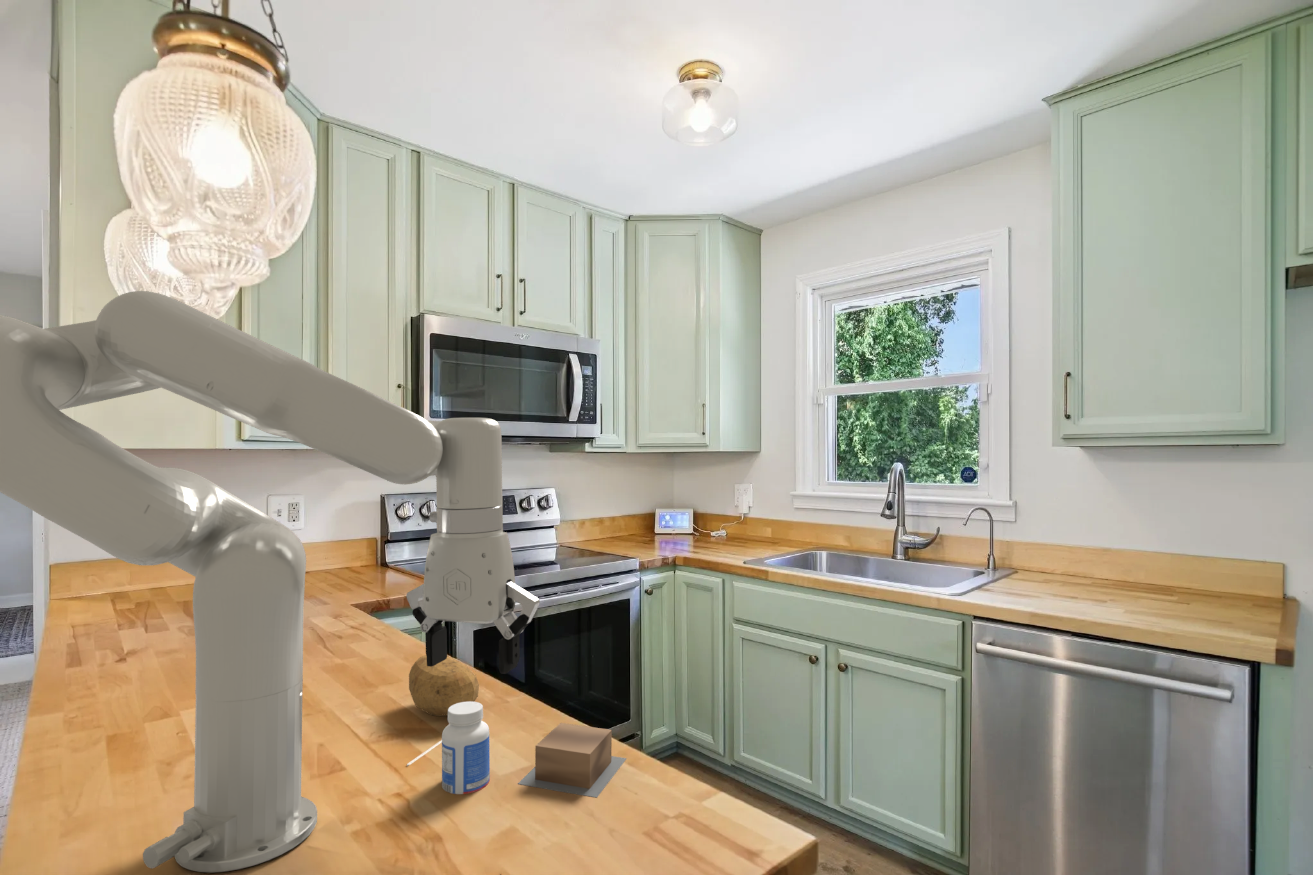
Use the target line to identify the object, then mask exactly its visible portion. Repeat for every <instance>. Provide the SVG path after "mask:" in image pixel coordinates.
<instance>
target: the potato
mask: <svg viewBox="0 0 1313 875" xmlns="http://www.w3.org/2000/svg"><path fill="white" fill-rule="evenodd" d="M476 675H477V674H475V673H474V671H472V669H471V668H470V667H469V666H468V665H467V664H465V663H463V662H461V661H459V660H457V659H455V658H452V656H451V657H450V656H448V655H447V658H446V659H445V660H444V661H442V662H440V663H438V664H436V665H434V666H432V667H430V666H427V656H426V654H424V655H422V656H420V657H419V658H418V659H417V660H416V661H415V662H414V663H413V664H412V666H411V668H410V671H409V674H408V690H409V692H410V696H411V698H412V700H413V703H414V705H415V706H416V707H417V708H418V709H420V710H421V711H423V712H425V713H426V714H429V715H431V716H434V717H439V716H440V717H441V716H448V708H449V707H450V706H452V705H454V704H457V703H461V702H469V701H471V702H476V700H477V698H478V697H479V687H480V684H479V681H478V678H477V676H476Z"/></svg>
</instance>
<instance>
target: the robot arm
mask: <svg viewBox="0 0 1313 875" xmlns="http://www.w3.org/2000/svg"><path fill="white" fill-rule="evenodd" d="M157 389H163V390H166V391H168V392H170V393H172V394H176V395H177V396H178V395H179V396H180V397H182V398H185V399H188V400H190V401H192V402H194V403H196V404H199V405H202V406H204V407H205V408H208V409H211V410H213V411H215V412H218V413H220V414H222V415H225V416H227V417H229V418H232V419H234V420H236V421H239V422H240V423H243V424H246V425H248V426H251V427H252V428H255V429H257V430H259V431H262V432H264V433H266V434H269V435H273V436H278V437H281V438H285V439H288V440H291V441H293V442H296V443H299V444H301V445H304V446H306V447H309V448H310V449H313V450H316V451H318V452H321V453H323V454H324V455H327V456H330V457H332V458H335V459H337V460H339V461H342V462H343V463H347V464H349V465H351V466H353V467H356V468H357V469H359V470H362V471H364V472H367V473H368V474H371V475H373V476H376V477H378V478H380V479H383V480H384V481H387V482H390V483H393V484H395V485H397V484H398V485H403V486H404V485H413V484H417V483H419V482H422V481H424V480H426V479H428V478H429V477H431V476H432V477H433V476H435V479H436V481H435V482H436V485H435V486H436V488H435V489H436V508H435V509H436V511H431V512H430V513H429V521H430V522H431V523H436V532H435V533H432V534H430V537H429V541H428V546H427V552H426V556H425V557H426V558H425V565H424V574H423V575H424V576H423V583H422V584H420V585H419V586H417V587H415V588H413V589H412V590H410V591H408V592H407V593H406V595H405V596H406V600H407V602H408V604H409V606H410V608H411V610H412V615H413V618H415V620H416V621H417V622H418V623H419V625H420V631H421V632H422V633H425V637H424V638H425V655H426V656H427V666H430V667H432V666H434V665H436V664H438V663H440V662H442V661H444V660H445V659H446V658H447V656H448V630H447V626H445V625H444V622H454V623H465V624H466V623H469V624H484V625H485V624H487V625H488V624H491V623H492V624H494V625H495V627H496V629H497V630H498V631H499V632H500V634H501V635H502V638H500V639H499V640H498V671H499V673H500V674H503V675H506V674H508V673H509V672H511V671H512V670H515V669H516V668H517V667H518V664H519V662H520V658H521V656H520V654H521V653H520V634H521V633H523V632H524V630H525V629H526V628H527V626H529V624H530V623H532V621H533V618H534V616H535V613H536V612H537V610H538V608H539V605H540V602H541V601H540V599H539V598H538V596H535V595H533V593H530V592H529V591H527V590H526V589H524V588H522V587H521V586H519V585H518V584H516V577H515V568H514V566H515V565H514V559H513V551H512V549H511V543H510V540H509V538H510V537H509V535H508V532H507V531H506V532H505V531H504V525H503V524H504V522H503V518H504V517H503V515H504V514H503V465H502V464H503V461H502V460H503V457H502V456H503V452H502V450H503V448H502V443H503V442H502V439H503V438H502V428H501V425H500V424H499V422H498V421H496V420H495V419H492V418H488V417H451V418H446V419H443V420H427V419H425V418H424V417H422V416H421V415H419V414H416V413H415V412H413V411H411V410H409V409H407V408H405V407H402V406H401V405H398V404H396V403H394V402H391V401H390V400H388V399H386V398H384V397H382V396H379V395H377V394H375V393H373V392H371V391H369V390H367V389H365V388H362V387H360V386H358V385H356V384H353V383H352V382H349V381H347V380H344V379H343V378H341V377H339V376H336V375H334V374H331V373H329V372H327V371H325V370H323V369H321V368H320V367H317V366H316V365H314V364H313V363H310V362H308V361H306V360H304V359H302V358H300V357H297V356H296V355H293V354H291V353H289V352H287V351H285V350H283V349H280V348H278V347H276V346H274V345H271V344H270V343H268V342H266V341H263V340H262V339H259V338H258V337H256V336H253V335H251V334H249V333H247V332H244V331H243V330H241V329H238V328H236V327H235V326H232V325H230V324H229V323H226V322H224V321H222V320H221V319H217V318H215V317H213V316H212V315H209V314H207V313H205V312H203V311H201V310H198V309H196V308H195V307H192V306H191V305H188V304H186V303H184V302H182V301H180V300H178V299H175V298H173V297H171V296H168V295H165V294H162V293H159V292H154V291H149V290H147V291H146V290H136V291H129V292H125V293H122V294H120V295H118V296H115V297H114V298H112V299H111V300H109V301H108V302H107V303H106V304H105V305H104V306H103V307H102V309H101V311H99V313H98V315H97V317H96V319H95V320H91V321H85V322H84V321H83V322H79V323H72V324H65V325H59V326H54V327H53V326H52V327H45V328H43V327H40V326H37V325H34V324H32V323H29V322H27V321H23V320H21V319H18V318H15V317H11V316H8V315H7V316H6V315H2V314H0V493H1V494H3V495H5V496H6V497H8V498H10V499H12V500H13V501H16V502H17V503H19V504H21V505H22V506H25V507H26V508H28V509H30V510H32V511H33V512H34V513H36V514H38V515H40V516H41V517H43V518H45V519H47V520H49V521H51V522H52V523H54V524H56V525H57V526H59V527H61V528H63V529H65V530H67V531H69V532H71V533H73V534H74V535H76V536H78V537H80V538H81V539H84V540H85V541H87V542H89V543H91V544H93V545H94V546H96V547H97V548H99V549H101V550H102V551H104V552H106V553H108V555H110V556H113V557H114V558H117V559H118V560H121V561H123V562H125V563H127V564H132V565H137V566H158V565H161V564H166V563H169V564H171V565H173V566H174V567H177V568H178V569H179V570H180V569H181V570H182V571H184V572H186V573H188V574H190V575H192V576H193V577H195V579H194V582H193V588H192V589H193V590H192V610H193V611H192V614H193V626H194V639H195V640H194V641H195V643H194V644H195V690H194V691H195V717H194V718H195V725H194V726H195V728H194V731H195V732H194V734H195V735H194V738H195V739H194V781H193V782H194V790H193V791H194V792H193V798H194V799H193V806H192V807H191V808H189V809H186V810H185V811H183V818H182V819H183V824H181V825H180V826H178V827H176V830H175V832H174V833H172V834H170V835H169V836H165V837H164V838H162V839H160V840H159V841H156V842H154V843H153V844H151V845H150V846H147V847H146V848H145V849H144V851H143V852H142V859H143V862H144V864H145V866H146V867H147V868H149V869H151V870H152V869H155V868H156V867H158V866H160V865H162V864H164V863H165V862H167V861H168V860H170V859H172V858H175V859H174V860H175V861H176V863H177V864H178V865H179V866H181V867H182V868H185V869H187V870H189V871H194V872H198V873H223V872H224V873H225V872H229V871H230V872H231V871H235V870H237V871H239V870H241V869H245V868H249V867H253V866H257V865H259V864H262V863H265V862H268V861H271V860H273V859H275V858H277V857H279V856H281V855H283V854H285V853H287V852H289V851H290V850H292V849H294V848H295V847H297V846H298V845H299V844H301V843H302V842H304V841H305V840H306V838H308V836H310V835H311V833H312V832H313V831H314V829H315V827H316V825H317V824H318V809H317V806H316V804H315V803H314V802H313V801H312V800H310V799H309V798H307V797H304V796H302V755H303V753H302V752H303V751H302V749H303V747H302V746H303V740H302V739H303V684H304V683H303V682H304V681H303V679H304V678H303V676H304V674H303V673H304V672H303V671H304V670H303V669H304V667H303V666H304V606H305V605H304V604H305V587H306V586H305V583H306V571H307V570H306V569H307V554H306V550H305V547H304V545H303V542H302V541H301V539H300V537H298V535H297V534H296V533H295V532H294V531H293V530H291V528H289V527H287V526H286V525H284V524H283V523H281V522H280V521H278V520H276V519H274V518H273V517H272V516H270V515H268V514H267V513H265V512H263V511H262V510H259V509H258V508H257V507H255V506H253V505H251V504H250V503H248V502H247V501H245V500H243V499H241V498H240V497H238V496H236V495H235V494H233V493H231V492H230V491H228V490H226V489H225V488H223V487H221V486H220V485H218V484H217V483H215V482H213V481H211V480H210V479H208V478H206V477H204V476H202V475H201V474H198V473H195V472H193V471H190V470H187V469H184V468H179V467H160V466H156V465H154V464H153V463H150V462H148V461H146V460H145V459H143V458H141V457H139V456H137V455H135V454H134V453H132V452H130V451H128V450H127V449H125V448H123V447H121V446H119V445H117V444H116V443H114V442H113V441H112V440H110V439H108V438H107V437H106V436H104V435H103V434H101V433H100V432H98V431H96V430H94V429H92V428H91V427H89V426H87V425H85V424H83V423H81V422H79V421H78V420H74V418H71V416H68V415H67V414H65V413H64V412H62V411H61V410H65V409H66V410H67V409H70V408H76V407H80V406H85V405H89V404H93V403H99V402H103V401H107V400H112V399H116V398H117V399H118V398H121V397H126V396H131V395H136V394H140V393H145V392H149V391H153V390H157ZM516 603H518V604H519V605H521V608H522V609H521V611H520V614H519V616H517V615H516V613H515V612H514V611H515V608H516Z"/></svg>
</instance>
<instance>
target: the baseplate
mask: <svg viewBox="0 0 1313 875" xmlns="http://www.w3.org/2000/svg"><path fill="white" fill-rule="evenodd" d="M627 759H628V758H626V757H621V756H615V755H611V763H610V764H609V765H608V767H607V768H606V769H605V770H604V772H603V773H602V774H601V775H600V777H599V778H598V779H597V780H596V782H595V783H594V784H593V785H592V787H591V788H590V789H588V788H582V787H576V786H570V785H564V784H558V783H552V782H546V781H541V780H535V766H533V768H532V769H531V770H530V771H529V772H528V773H527V774H526V775H525V776H524V777H523V778H522V779H521V780H519V781H518V783H517V785H520V786H526V787H527V786H528V787H533V788H539V789H545V790H549V791H550V790H551V791H556V792H562V793H567V794H572V795H573V794H574V795H579V796H584V797H590V798H598V797H599V796H600V794H601V793H602V791H604V790H605V788H606V786H608V784H609V783H610V782H611V780H612V778H613V777H614V776H615V775H616V774H617V772H618V771H619V770H620V768H621V767H622V766H623V764H624V763H625V762H626V760H627Z"/></svg>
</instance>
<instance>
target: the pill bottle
mask: <svg viewBox="0 0 1313 875" xmlns="http://www.w3.org/2000/svg"><path fill="white" fill-rule="evenodd" d="M483 718H484V706H483V704H482V703H480V702H478V701H474V702H471V701H469V702H461V703H457V704H454V705H452V706H450V707H449V708H448V715H447V723H448V725H447V726H445V728H444V729H443V730H442V734H441V740H442V743H441V788H442V789H443V791H445V792H447V793H449V794H454V795H466V794H471V793H475V792H478V791H481V790H482V789H484V788H486V787H487V786H488V784H490V780H491V779H490V777H491V775H490V773H491V772H490V769H491V768H490V760H491V759H490V727H489V725H488V724H487V723H486V721H484V720H483Z"/></svg>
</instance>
